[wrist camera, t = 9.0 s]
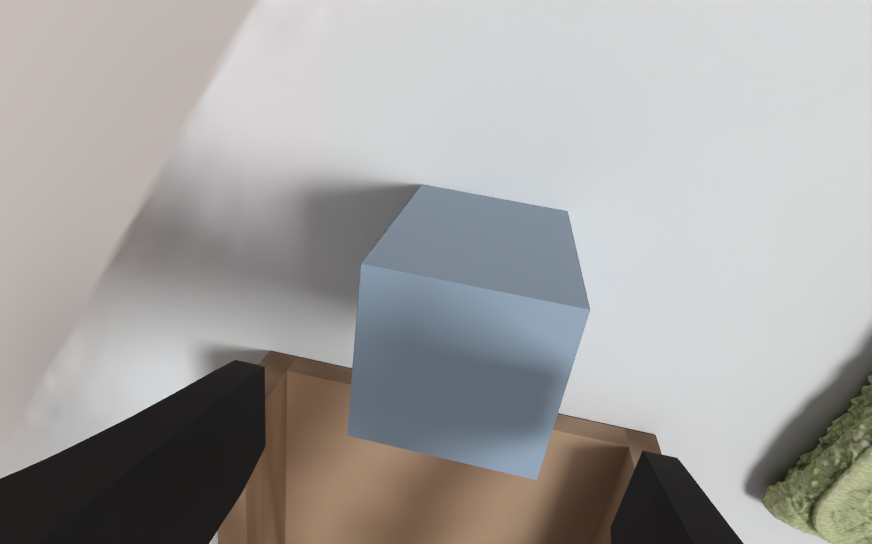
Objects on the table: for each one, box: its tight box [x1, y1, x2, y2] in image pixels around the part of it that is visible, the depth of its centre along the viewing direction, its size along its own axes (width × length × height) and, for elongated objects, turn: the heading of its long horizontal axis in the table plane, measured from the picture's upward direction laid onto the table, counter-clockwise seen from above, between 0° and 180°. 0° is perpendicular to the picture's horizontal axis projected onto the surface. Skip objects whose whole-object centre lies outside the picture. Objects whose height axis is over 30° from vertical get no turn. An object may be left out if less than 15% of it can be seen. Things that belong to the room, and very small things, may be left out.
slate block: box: [347, 185, 590, 480], centre depth 15 cm, size 5×5×7 cm
